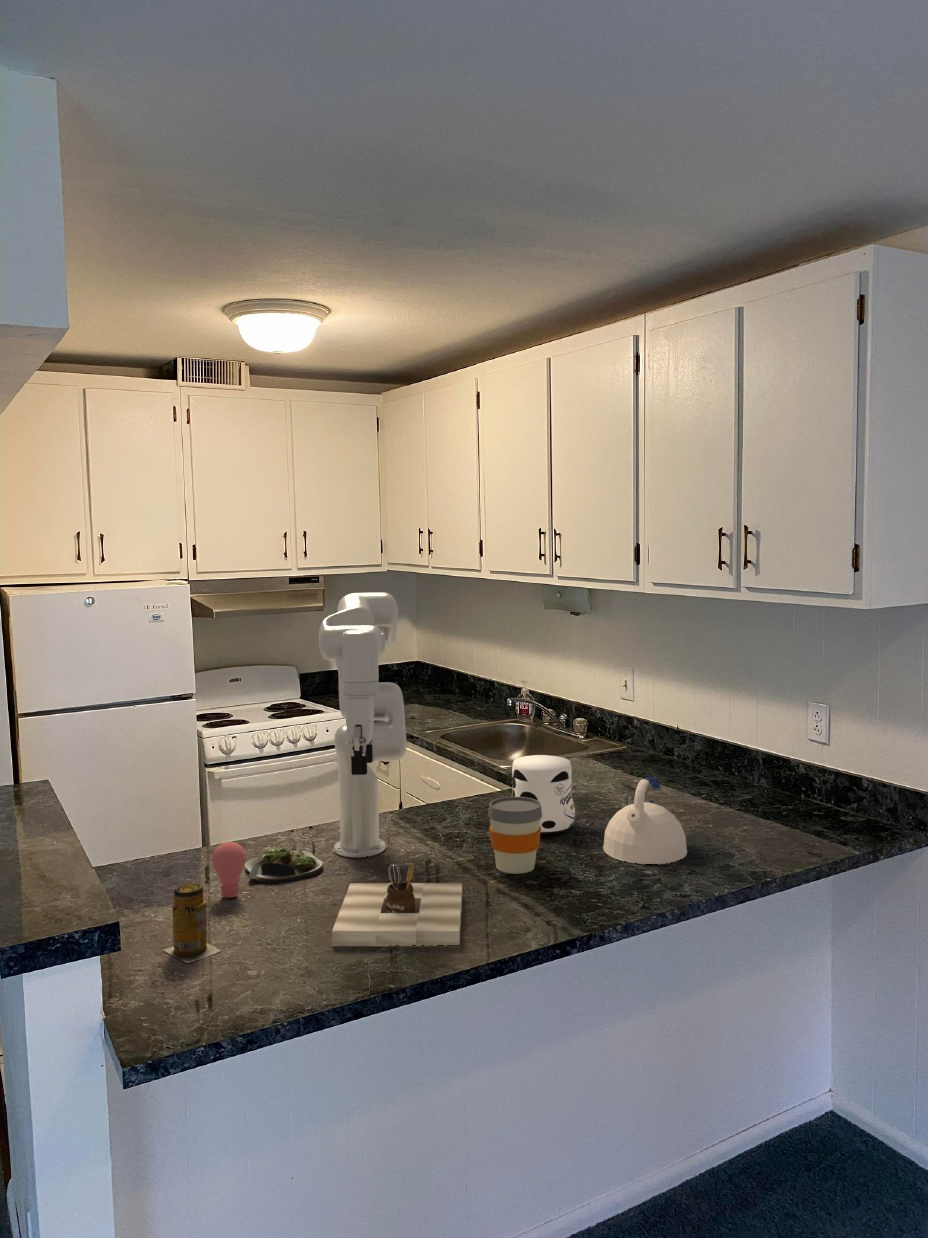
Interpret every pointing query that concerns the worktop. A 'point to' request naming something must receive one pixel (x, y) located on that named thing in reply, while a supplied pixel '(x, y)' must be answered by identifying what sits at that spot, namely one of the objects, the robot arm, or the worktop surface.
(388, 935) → the socket board
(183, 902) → the condiment
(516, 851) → the reusable coffee cup
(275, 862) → the salad plate
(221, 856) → the light bulb
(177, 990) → the worktop surface
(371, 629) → the robot arm
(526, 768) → the milk container
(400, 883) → the utensil holder
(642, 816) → the kettle
